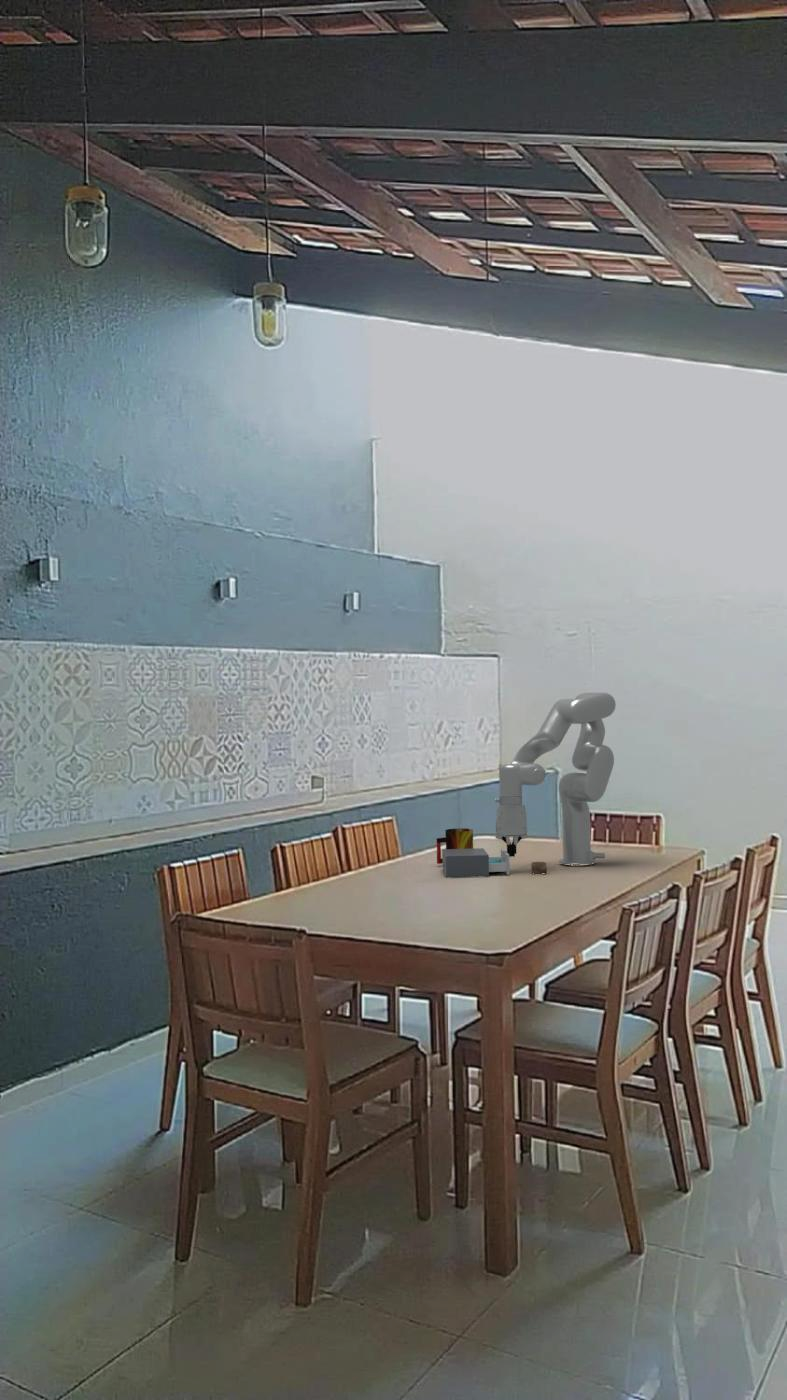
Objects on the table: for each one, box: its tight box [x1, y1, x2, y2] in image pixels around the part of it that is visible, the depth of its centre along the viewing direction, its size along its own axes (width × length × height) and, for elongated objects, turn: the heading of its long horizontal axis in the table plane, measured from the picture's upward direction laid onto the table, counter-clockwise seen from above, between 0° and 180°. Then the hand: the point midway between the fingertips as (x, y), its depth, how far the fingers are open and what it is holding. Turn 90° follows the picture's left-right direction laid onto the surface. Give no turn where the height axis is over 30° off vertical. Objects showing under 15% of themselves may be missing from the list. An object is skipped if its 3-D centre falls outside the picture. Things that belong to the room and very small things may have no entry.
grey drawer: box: [489, 848, 511, 876], centre depth 388 cm, size 13×15×6 cm
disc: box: [489, 859, 501, 863], centre depth 388 cm, size 7×7×2 cm
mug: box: [436, 827, 474, 865], centre depth 407 cm, size 10×14×12 cm
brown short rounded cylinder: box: [530, 861, 548, 875], centre depth 383 cm, size 5×5×4 cm
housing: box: [441, 847, 490, 878], centre depth 388 cm, size 14×17×7 cm
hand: (511, 856), depth 388 cm, fingers closed
